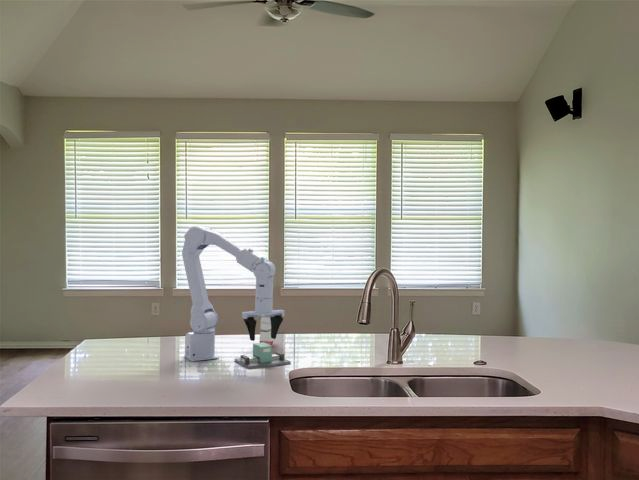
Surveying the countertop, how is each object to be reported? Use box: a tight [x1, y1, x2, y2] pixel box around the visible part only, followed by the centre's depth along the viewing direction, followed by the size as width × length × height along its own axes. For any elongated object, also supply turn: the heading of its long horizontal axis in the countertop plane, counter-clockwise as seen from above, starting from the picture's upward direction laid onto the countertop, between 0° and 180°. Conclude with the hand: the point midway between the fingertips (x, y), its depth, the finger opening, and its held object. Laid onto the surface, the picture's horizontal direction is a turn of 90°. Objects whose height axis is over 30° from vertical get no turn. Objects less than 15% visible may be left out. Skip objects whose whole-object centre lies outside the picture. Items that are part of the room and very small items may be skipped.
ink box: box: [259, 315, 276, 348], centre depth 204 cm, size 9×5×12 cm, turn 177°
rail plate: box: [234, 350, 292, 370], centre depth 178 cm, size 15×11×3 cm
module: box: [252, 342, 273, 363], centre depth 179 cm, size 4×6×5 cm, turn 31°
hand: (262, 339), depth 178 cm, fingers open, 7 cm apart
